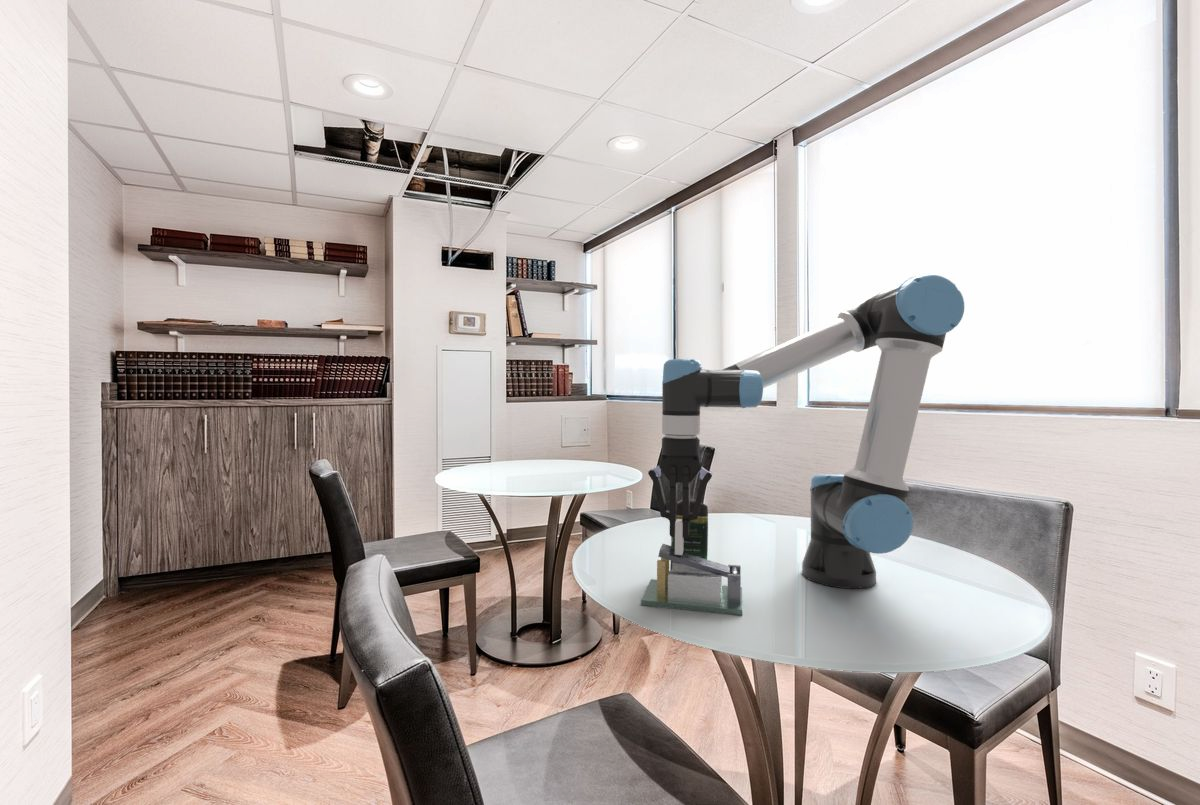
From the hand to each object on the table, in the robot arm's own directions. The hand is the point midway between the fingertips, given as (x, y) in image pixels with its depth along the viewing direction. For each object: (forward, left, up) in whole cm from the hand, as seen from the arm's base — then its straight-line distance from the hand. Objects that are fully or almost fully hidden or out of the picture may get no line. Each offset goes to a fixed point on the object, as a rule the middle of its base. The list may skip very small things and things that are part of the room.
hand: (679, 552), depth 107 cm
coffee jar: (-1, -8, -10) cm, 13 cm away
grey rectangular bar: (-3, 0, -2) cm, 4 cm away
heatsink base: (-3, 0, -9) cm, 10 cm away
